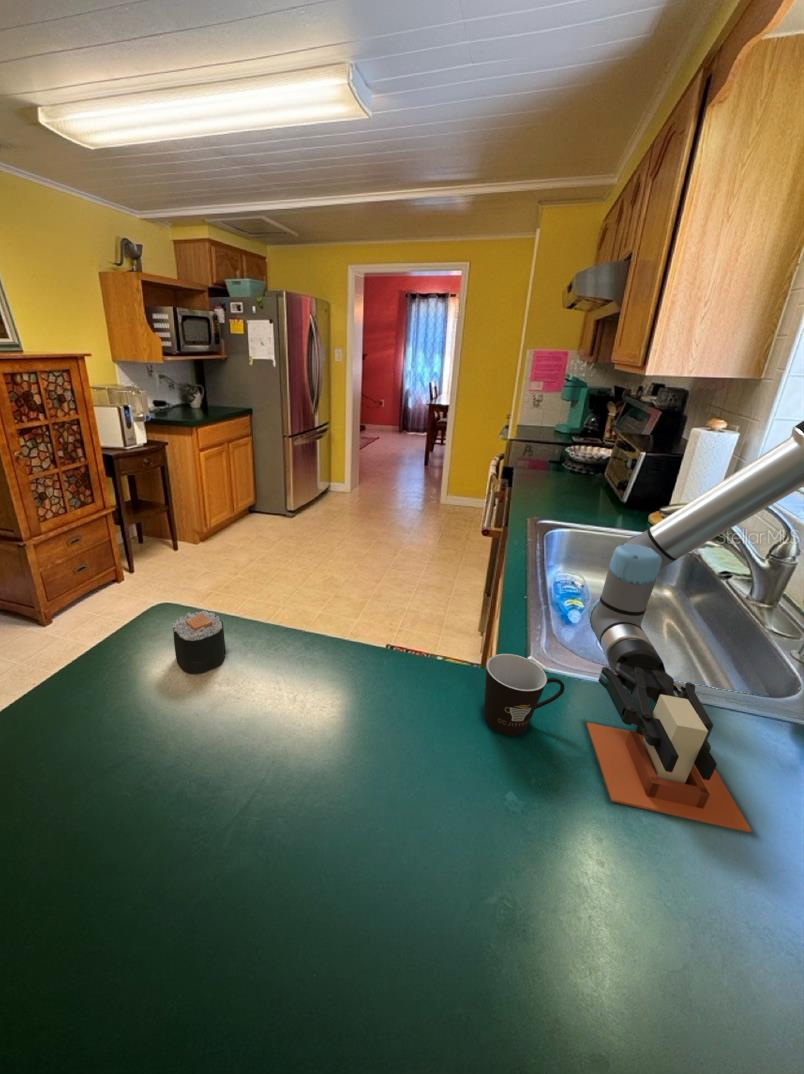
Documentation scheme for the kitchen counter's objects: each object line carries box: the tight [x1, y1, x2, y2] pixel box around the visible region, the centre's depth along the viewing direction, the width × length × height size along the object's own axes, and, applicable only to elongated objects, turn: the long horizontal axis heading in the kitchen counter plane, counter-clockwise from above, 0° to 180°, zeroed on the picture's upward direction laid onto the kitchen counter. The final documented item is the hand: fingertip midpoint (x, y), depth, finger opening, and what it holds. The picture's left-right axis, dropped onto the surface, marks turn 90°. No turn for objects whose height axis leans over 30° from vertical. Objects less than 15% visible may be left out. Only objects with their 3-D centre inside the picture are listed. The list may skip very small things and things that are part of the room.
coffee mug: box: [483, 653, 565, 737], centre depth 71 cm, size 12×9×10 cm
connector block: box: [642, 694, 708, 784], centre depth 63 cm, size 4×6×10 cm, turn 167°
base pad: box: [586, 722, 752, 833], centre depth 65 cm, size 16×14×4 cm
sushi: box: [171, 610, 227, 675], centre depth 82 cm, size 8×8×8 cm
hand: (690, 767), depth 58 cm, fingers closed on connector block, 3 cm apart
